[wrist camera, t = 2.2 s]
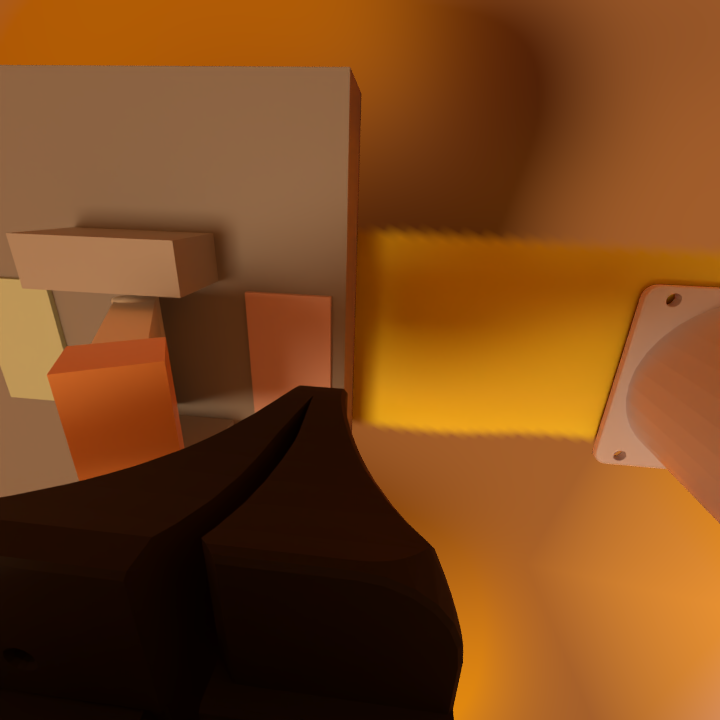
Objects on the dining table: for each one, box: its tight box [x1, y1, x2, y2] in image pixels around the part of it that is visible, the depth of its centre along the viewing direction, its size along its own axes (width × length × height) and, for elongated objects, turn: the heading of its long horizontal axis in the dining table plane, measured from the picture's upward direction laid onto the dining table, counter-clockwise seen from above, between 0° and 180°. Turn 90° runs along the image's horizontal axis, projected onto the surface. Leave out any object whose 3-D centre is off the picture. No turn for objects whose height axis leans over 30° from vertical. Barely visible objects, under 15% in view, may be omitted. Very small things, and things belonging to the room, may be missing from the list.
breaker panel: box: [0, 65, 361, 497], centre depth 15 cm, size 18×18×6 cm
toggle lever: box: [47, 295, 184, 481], centre depth 12 cm, size 2×5×7 cm, turn 178°
